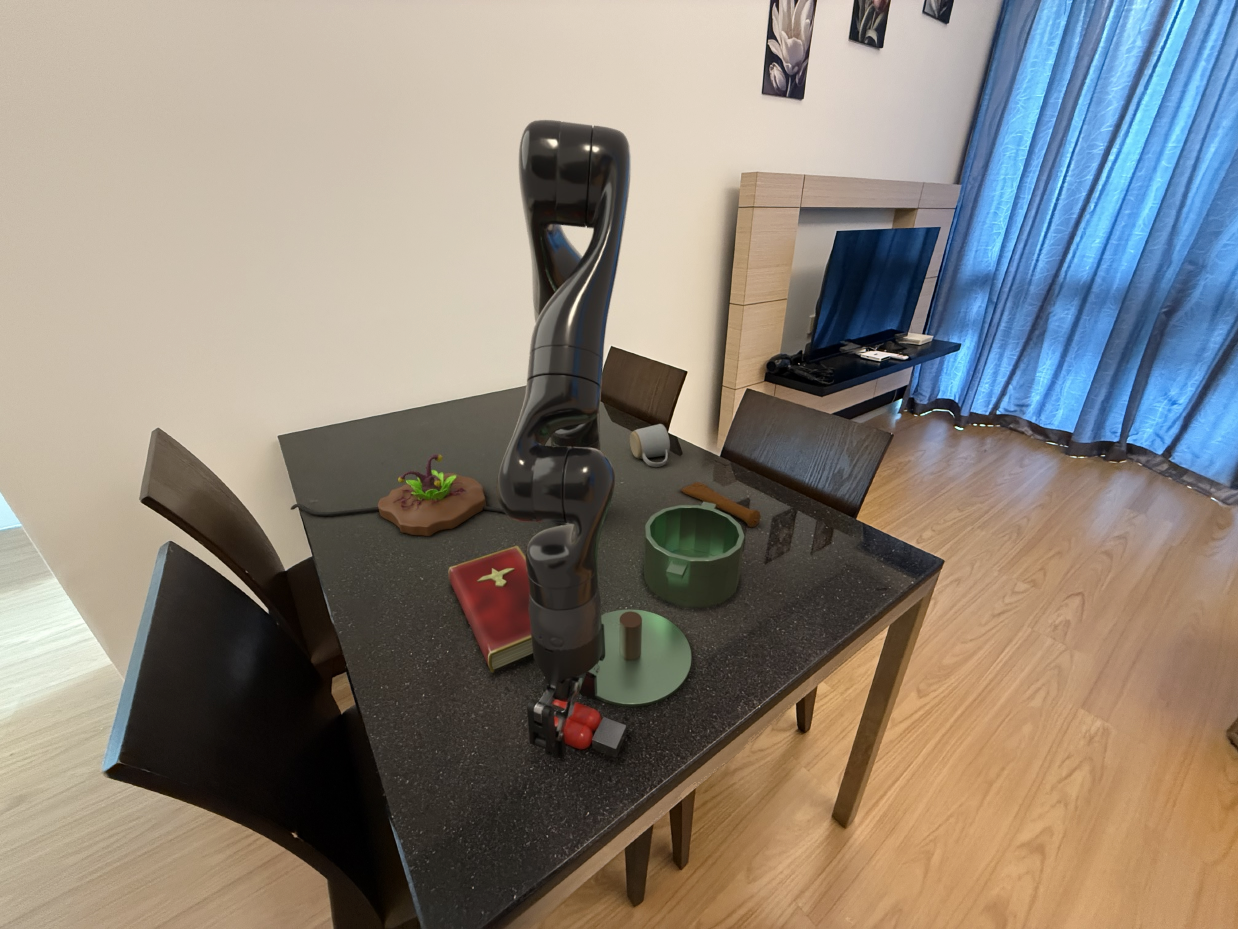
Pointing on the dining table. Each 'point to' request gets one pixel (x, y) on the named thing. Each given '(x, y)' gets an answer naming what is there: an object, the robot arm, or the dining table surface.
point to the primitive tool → (723, 503)
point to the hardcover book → (496, 604)
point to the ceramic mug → (650, 444)
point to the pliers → (592, 730)
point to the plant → (432, 501)
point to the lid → (641, 659)
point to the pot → (693, 555)
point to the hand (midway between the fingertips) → (573, 722)
